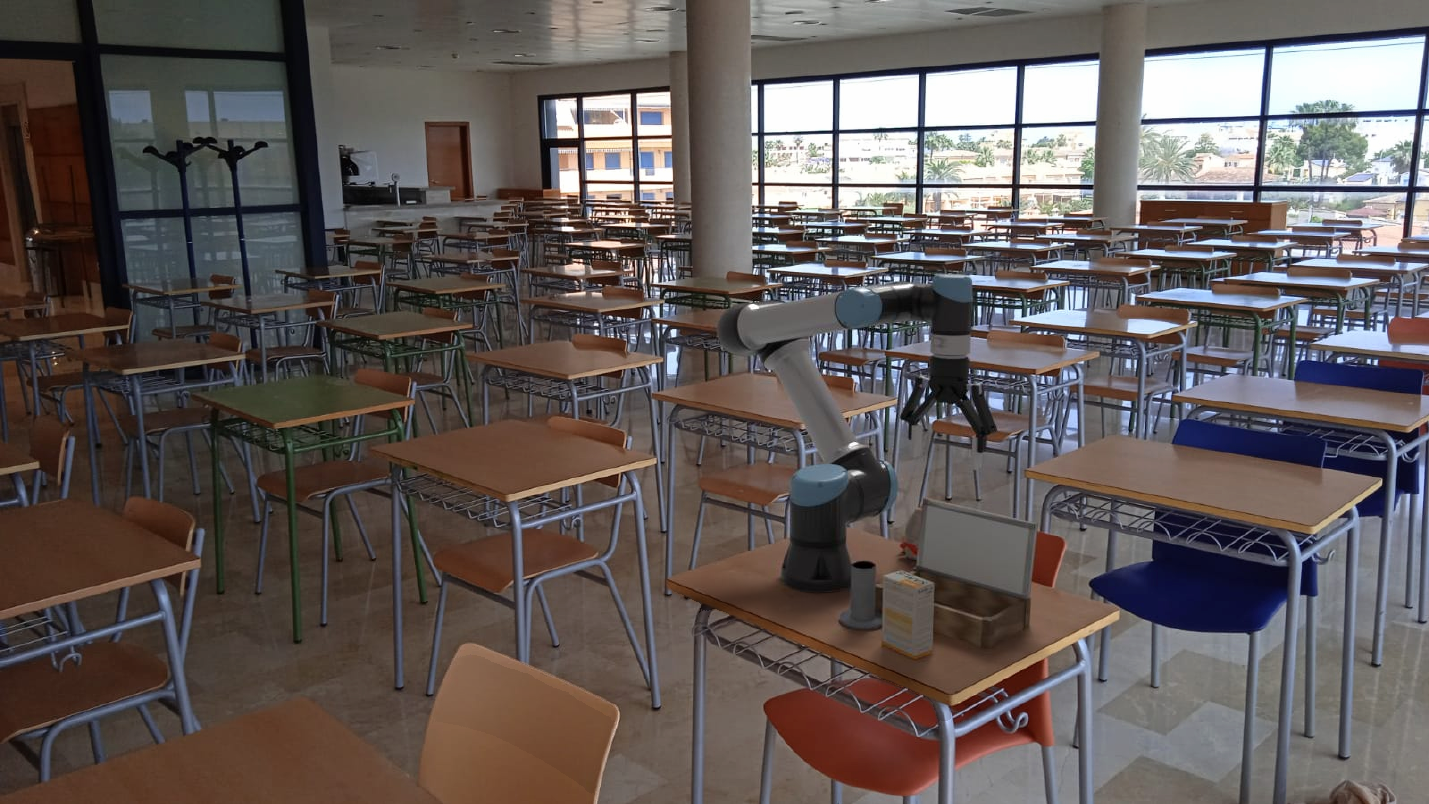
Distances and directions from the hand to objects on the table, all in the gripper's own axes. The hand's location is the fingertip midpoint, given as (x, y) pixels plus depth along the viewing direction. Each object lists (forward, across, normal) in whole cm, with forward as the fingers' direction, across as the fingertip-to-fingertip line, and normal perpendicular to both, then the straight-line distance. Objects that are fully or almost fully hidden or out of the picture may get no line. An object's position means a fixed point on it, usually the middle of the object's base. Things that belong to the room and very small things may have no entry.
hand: (945, 462), depth 206 cm
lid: (+14, +9, -4) cm, 17 cm away
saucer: (+27, -2, -23) cm, 35 cm away
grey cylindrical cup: (+26, -2, -23) cm, 35 cm away
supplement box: (+27, +10, -28) cm, 40 cm away
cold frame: (+27, +9, -11) cm, 30 cm away
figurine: (+27, -15, +14) cm, 34 cm away
